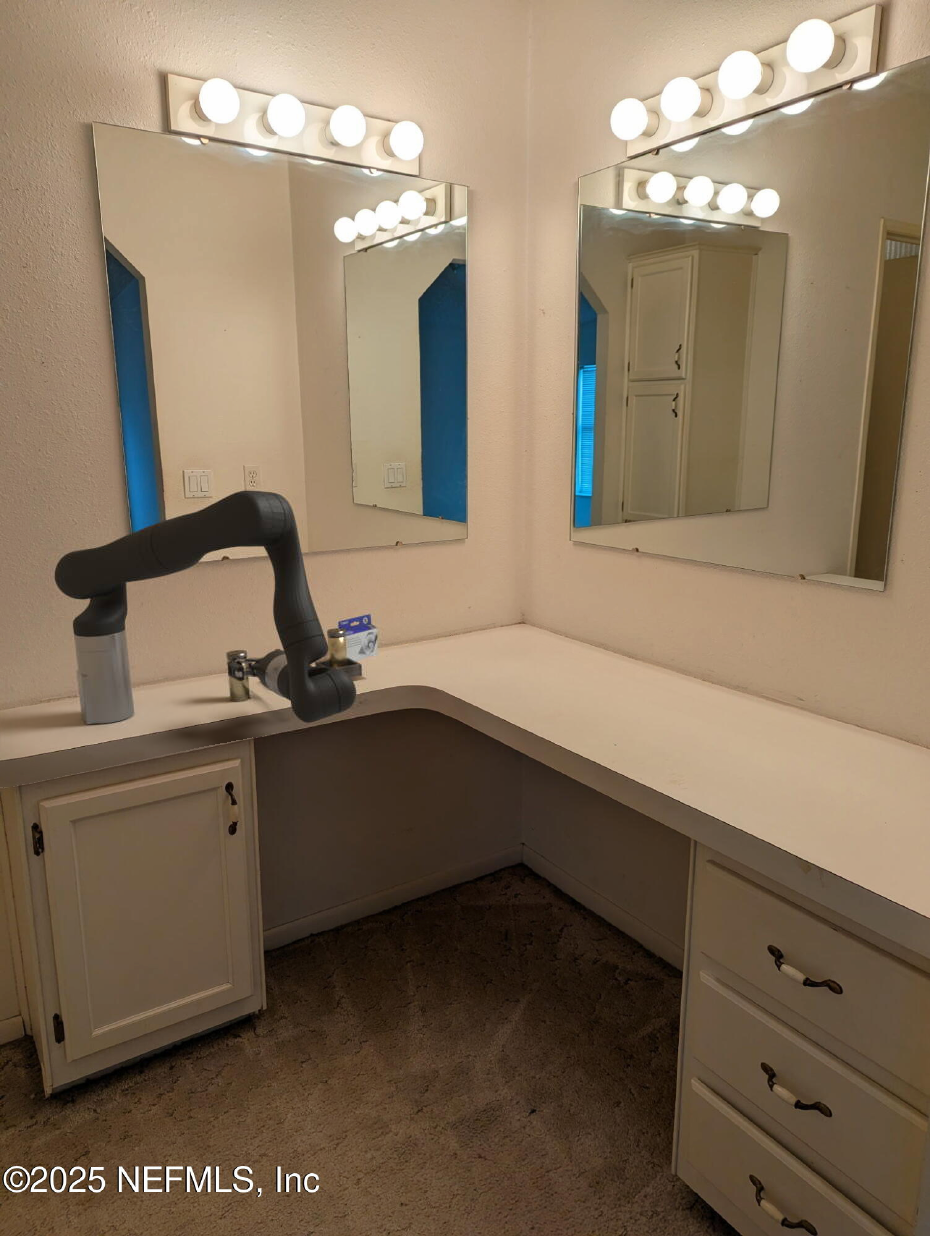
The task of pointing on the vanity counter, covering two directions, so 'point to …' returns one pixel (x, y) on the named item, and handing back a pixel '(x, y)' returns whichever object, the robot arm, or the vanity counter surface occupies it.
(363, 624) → the ink box
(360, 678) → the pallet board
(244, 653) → the billet
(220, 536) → the robot arm
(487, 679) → the vanity counter surface
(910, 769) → the vanity counter surface
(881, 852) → the vanity counter surface
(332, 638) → the cylinder
